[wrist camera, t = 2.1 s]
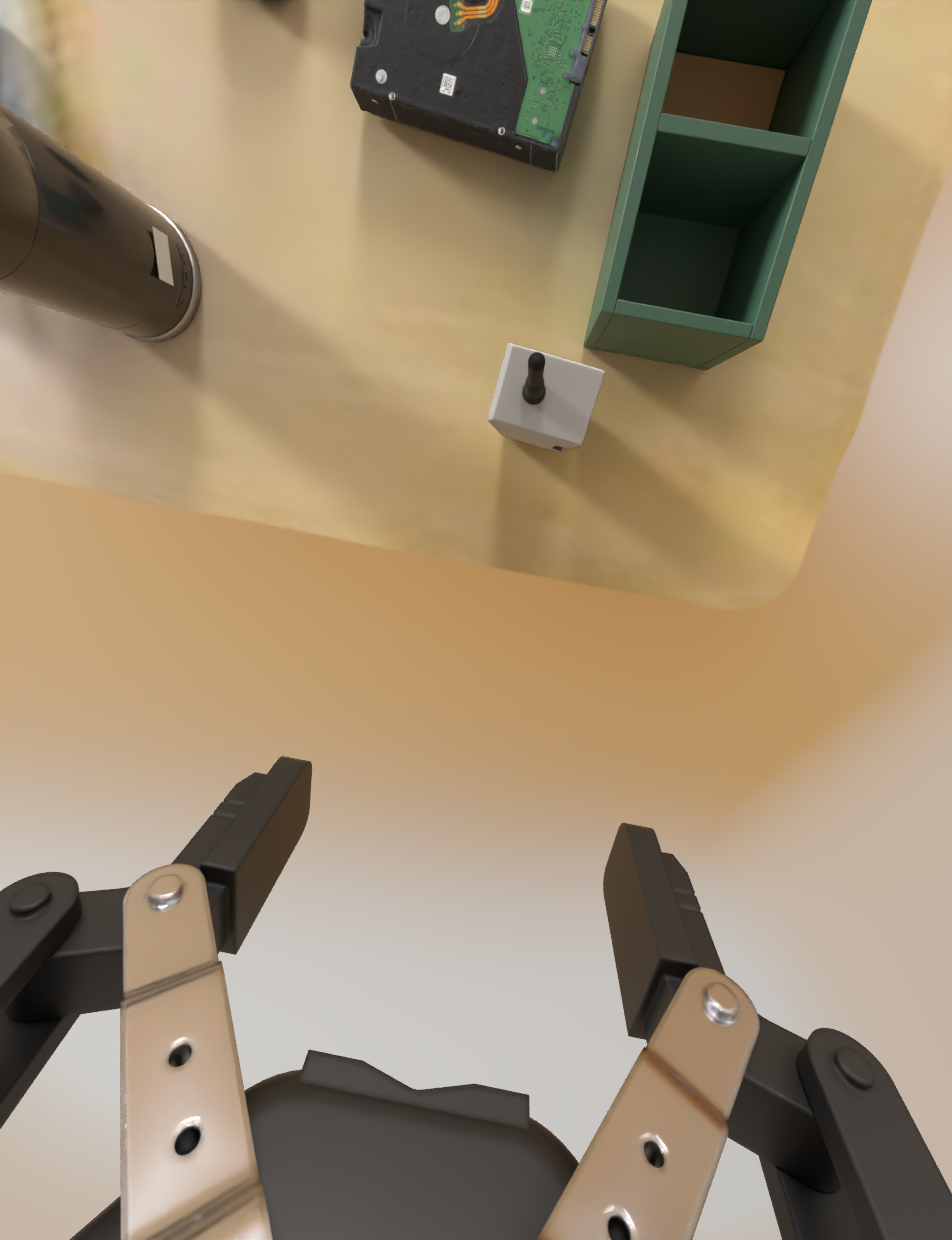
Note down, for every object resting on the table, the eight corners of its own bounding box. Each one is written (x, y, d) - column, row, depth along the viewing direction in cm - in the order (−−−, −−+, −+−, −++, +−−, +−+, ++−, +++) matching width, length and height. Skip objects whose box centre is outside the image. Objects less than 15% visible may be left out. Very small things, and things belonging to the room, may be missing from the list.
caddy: (583, 347, 40) (600, 311, 30) (651, 42, 34) (698, -117, 25) (707, 370, 39) (763, 341, 30) (797, 66, 34) (900, -86, 24)
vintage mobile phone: (560, 453, 42) (603, 441, 18) (502, 436, 42) (468, 402, 18) (575, 405, 41) (643, 326, 17) (515, 387, 41) (498, 284, 17)
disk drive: (361, 118, 37) (559, 176, 37) (347, 91, 34) (561, 153, 34) (394, -73, 34) (611, -12, 33) (382, -119, 31) (618, -53, 31)
